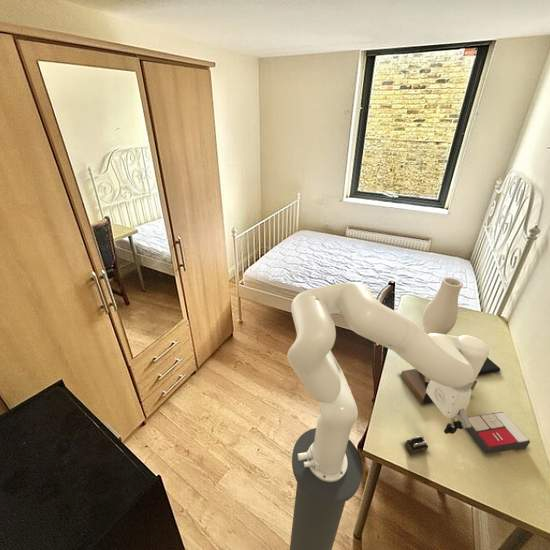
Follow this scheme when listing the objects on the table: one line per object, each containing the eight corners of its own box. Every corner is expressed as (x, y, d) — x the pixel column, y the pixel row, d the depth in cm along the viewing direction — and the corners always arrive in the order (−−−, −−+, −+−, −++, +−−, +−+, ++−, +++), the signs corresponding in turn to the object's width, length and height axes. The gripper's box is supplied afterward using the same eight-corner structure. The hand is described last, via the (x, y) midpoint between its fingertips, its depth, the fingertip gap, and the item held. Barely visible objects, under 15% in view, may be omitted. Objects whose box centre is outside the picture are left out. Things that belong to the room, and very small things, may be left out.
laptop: (467, 377, 121) (469, 373, 120) (440, 343, 138) (441, 340, 137) (503, 375, 122) (505, 372, 121) (472, 342, 139) (473, 339, 138)
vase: (420, 321, 152) (436, 271, 138) (449, 330, 146) (470, 279, 132) (416, 336, 142) (434, 284, 127) (448, 347, 136) (470, 293, 121)
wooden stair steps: (421, 405, 109) (427, 390, 105) (400, 375, 120) (405, 361, 116) (469, 396, 112) (477, 381, 109) (444, 368, 124) (450, 354, 120)
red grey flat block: (464, 416, 101) (504, 410, 102) (461, 423, 103) (499, 417, 104) (489, 447, 91) (532, 440, 93) (484, 455, 93) (526, 448, 95)
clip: (425, 452, 93) (430, 443, 91) (410, 455, 92) (414, 446, 90) (419, 442, 96) (423, 433, 94) (404, 445, 95) (408, 436, 93)
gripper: (424, 355, 85) (409, 394, 94) (469, 406, 71) (447, 447, 79) (446, 352, 87) (429, 391, 95) (495, 402, 72) (470, 442, 80)
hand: (437, 416), depth 87 cm, fingers open, 9 cm apart
